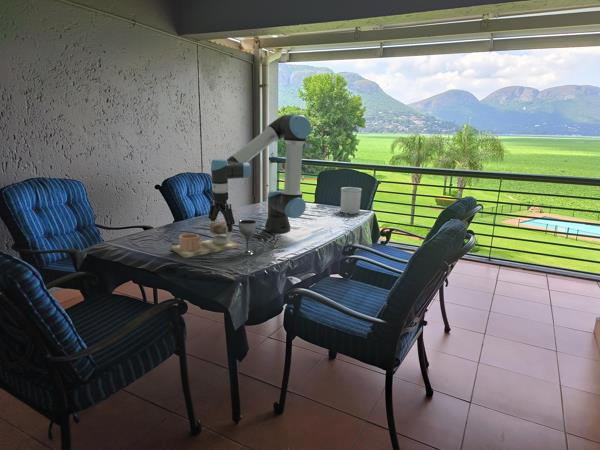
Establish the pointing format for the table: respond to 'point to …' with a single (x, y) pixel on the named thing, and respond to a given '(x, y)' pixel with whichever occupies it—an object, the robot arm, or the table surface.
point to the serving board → (205, 248)
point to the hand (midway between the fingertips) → (221, 235)
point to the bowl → (189, 242)
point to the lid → (219, 228)
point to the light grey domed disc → (220, 240)
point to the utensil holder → (350, 200)
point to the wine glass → (247, 233)
